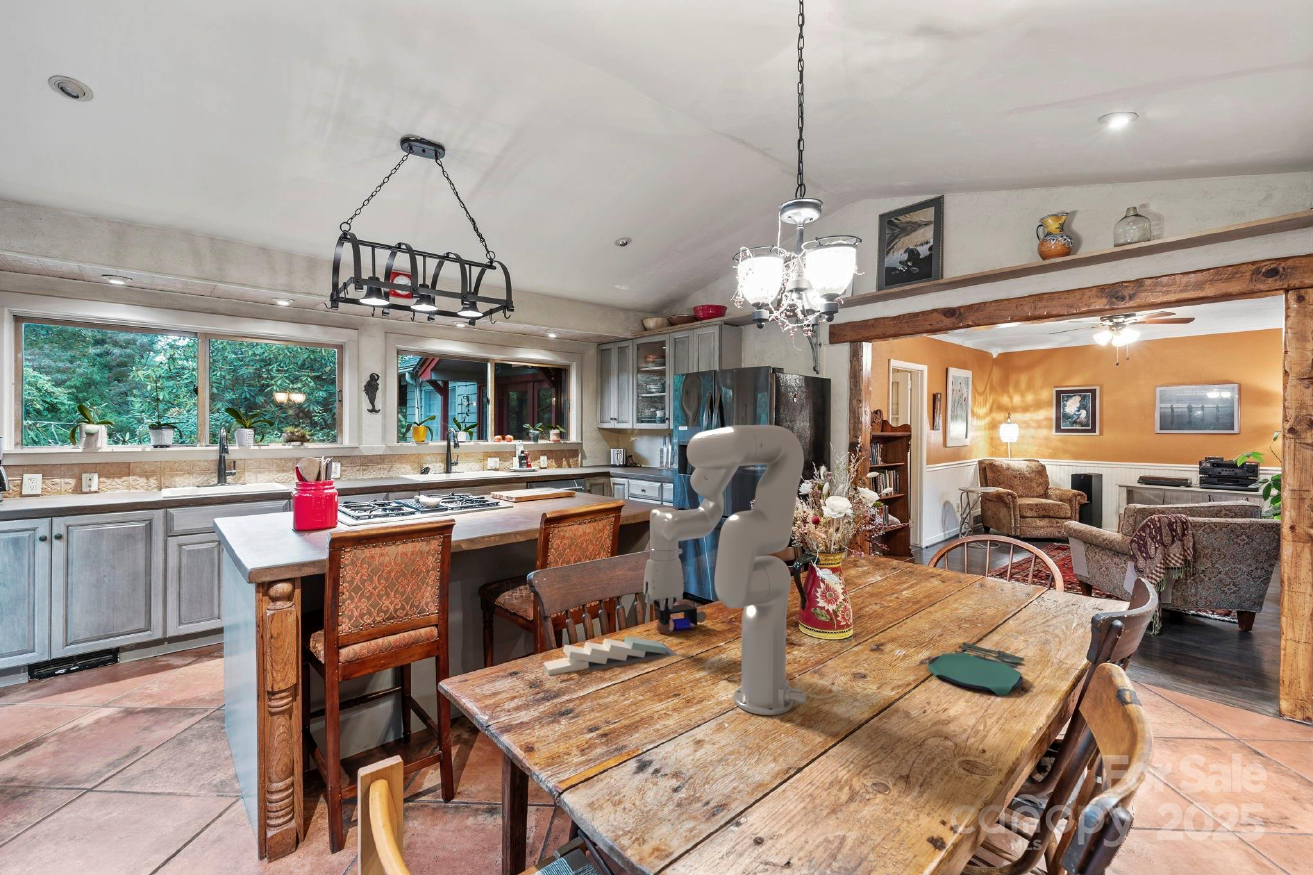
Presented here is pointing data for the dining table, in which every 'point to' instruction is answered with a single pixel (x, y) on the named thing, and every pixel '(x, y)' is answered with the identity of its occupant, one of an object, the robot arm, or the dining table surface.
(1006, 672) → the cutlery set
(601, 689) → the dining table surface
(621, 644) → the ivory tile
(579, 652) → the ivory tile
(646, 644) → the tile
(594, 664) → the mat
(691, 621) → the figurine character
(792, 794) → the dining table surface
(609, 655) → the ivory tile
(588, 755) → the dining table surface
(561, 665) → the ivory tile
